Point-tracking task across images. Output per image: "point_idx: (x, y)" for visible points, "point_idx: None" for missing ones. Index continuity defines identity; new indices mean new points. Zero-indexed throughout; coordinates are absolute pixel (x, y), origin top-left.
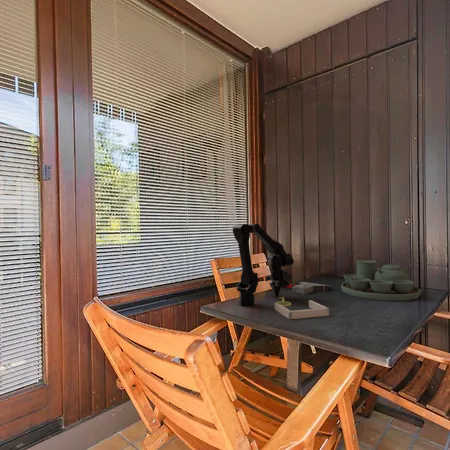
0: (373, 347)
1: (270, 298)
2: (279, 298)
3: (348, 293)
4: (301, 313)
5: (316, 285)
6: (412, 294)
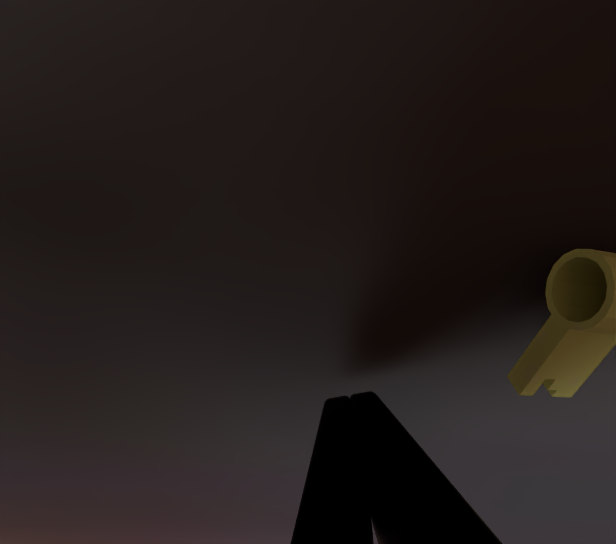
0: None
1: (291, 477)
2: (564, 381)
3: None
4: None
5: None
6: None
